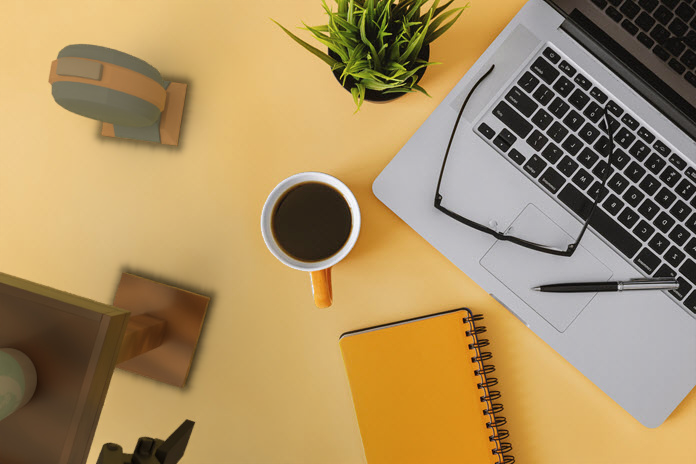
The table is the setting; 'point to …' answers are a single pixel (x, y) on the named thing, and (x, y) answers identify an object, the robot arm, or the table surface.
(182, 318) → the tray stand
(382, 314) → the table surface
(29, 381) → the coffee cup
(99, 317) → the serving tray
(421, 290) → the table surface
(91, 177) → the table surface
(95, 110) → the alarm clock
